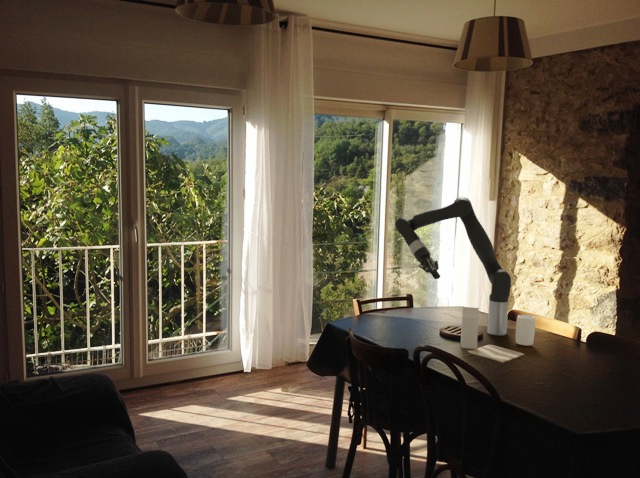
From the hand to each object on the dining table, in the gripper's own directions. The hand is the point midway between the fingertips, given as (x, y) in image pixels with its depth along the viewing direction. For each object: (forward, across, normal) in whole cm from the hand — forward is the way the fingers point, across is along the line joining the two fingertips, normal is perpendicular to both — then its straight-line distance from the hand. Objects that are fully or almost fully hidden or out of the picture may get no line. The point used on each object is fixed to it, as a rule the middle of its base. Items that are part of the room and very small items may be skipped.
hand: (437, 278), depth 278 cm
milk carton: (+35, 0, +7) cm, 36 cm away
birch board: (+45, +1, -3) cm, 45 cm away
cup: (+46, +24, -3) cm, 52 cm away
